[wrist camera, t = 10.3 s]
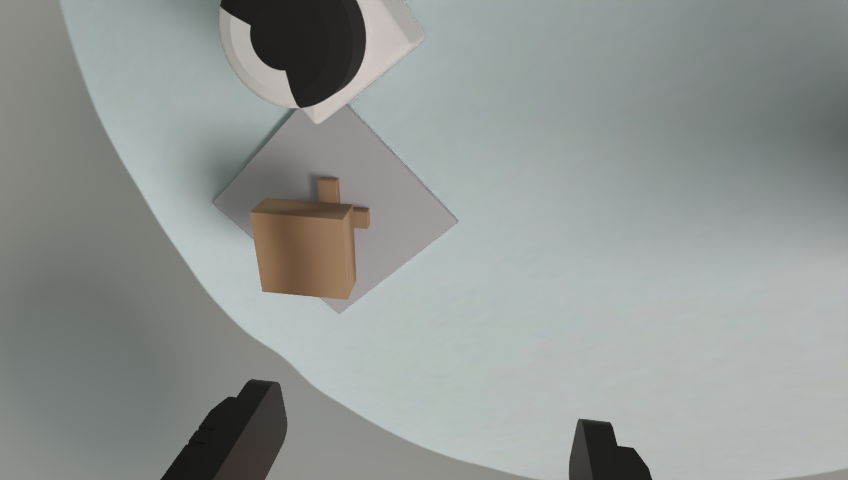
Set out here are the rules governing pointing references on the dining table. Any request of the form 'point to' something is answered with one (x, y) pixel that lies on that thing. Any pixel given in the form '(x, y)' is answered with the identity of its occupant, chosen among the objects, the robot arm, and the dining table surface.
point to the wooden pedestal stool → (308, 243)
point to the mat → (344, 191)
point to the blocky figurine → (315, 48)
